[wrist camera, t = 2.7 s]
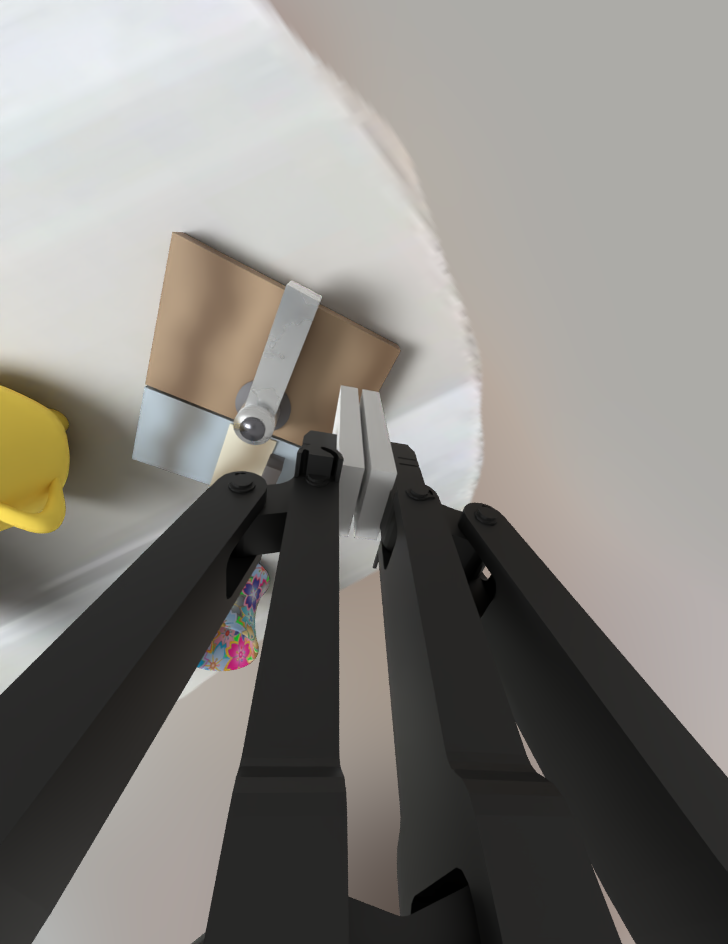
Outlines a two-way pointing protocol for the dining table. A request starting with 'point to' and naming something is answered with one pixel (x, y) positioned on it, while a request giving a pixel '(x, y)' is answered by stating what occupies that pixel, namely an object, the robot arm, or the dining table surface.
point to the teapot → (31, 464)
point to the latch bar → (276, 364)
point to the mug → (238, 629)
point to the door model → (240, 369)
